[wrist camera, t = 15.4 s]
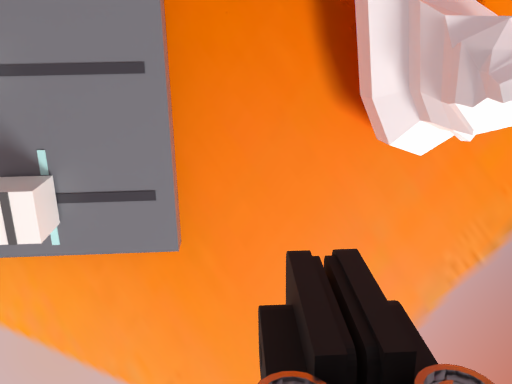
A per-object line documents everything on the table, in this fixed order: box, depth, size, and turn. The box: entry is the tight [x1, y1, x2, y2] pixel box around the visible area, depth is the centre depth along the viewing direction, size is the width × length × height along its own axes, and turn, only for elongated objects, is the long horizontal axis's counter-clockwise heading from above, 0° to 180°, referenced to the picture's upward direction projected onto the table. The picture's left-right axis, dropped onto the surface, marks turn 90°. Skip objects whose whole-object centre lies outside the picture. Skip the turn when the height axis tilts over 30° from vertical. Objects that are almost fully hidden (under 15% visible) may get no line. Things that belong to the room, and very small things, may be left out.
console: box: [0, 0, 181, 258], centre depth 38 cm, size 20×18×2 cm
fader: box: [0, 176, 60, 245], centre depth 36 cm, size 4×4×4 cm
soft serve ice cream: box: [355, 0, 512, 156], centre depth 33 cm, size 12×15×14 cm
